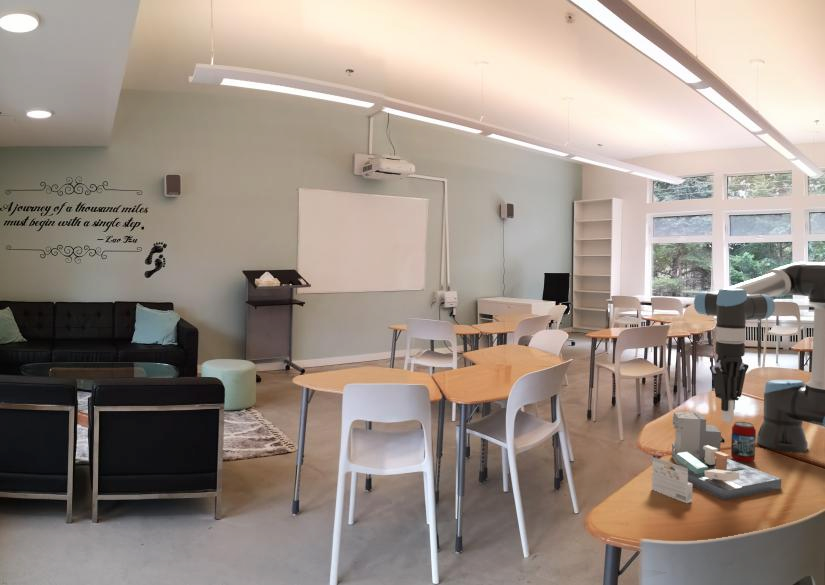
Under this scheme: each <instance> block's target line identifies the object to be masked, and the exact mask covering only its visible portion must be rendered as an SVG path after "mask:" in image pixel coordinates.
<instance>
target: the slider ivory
mask: <svg viewBox="0 0 825 585" xmlns="http://www.w3.org/2000/svg"><path fill="white" fill-rule="evenodd" d="M703 449H704V450H705V459H704V460H705V463H707V464H709V465H713V464H715V459H716V456H714V452H718V449H717V448H714V447H712V446H709V445H706V446H703Z"/></svg>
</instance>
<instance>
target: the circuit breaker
mask: <svg viewBox="0 0 825 585" xmlns="http://www.w3.org/2000/svg"><path fill="white" fill-rule="evenodd" d="M672 425H673V429H674V430H675V431H674V432H675V434H674V442H673V441H672V442H671V457H672V459H673V460H674V461H675V463H676V465H678V464H682V463H681V462H680V461H678V460H677V459H676V455H677V453H682V452H688V453H690V454H691V455H692V456H694V457H695V458H697V459H698V460H699V461H705V450H704V449H703V446H706V445H709V446H712V447H714V448H717V449H718V452H721V444H725V442H726V441H725V440H726V439H725V438H723V436H722V431H720V430H719V429H718V428H717V427H716V426H715V425H713V424H707V419H706V418H705V417H704V416H703V415H702V414H701V413H699V412H686V411H685V412H684V411H683V412H682V411H673V416H672Z"/></svg>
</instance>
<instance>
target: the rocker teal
mask: <svg viewBox="0 0 825 585" xmlns="http://www.w3.org/2000/svg"><path fill="white" fill-rule="evenodd" d="M676 459H677V460H678V461H680V462H681V463H682V464H684V465H685V466H686V467H688V468H689V469H690V470H692V471H693V472H694V473H695V474H699V473H704V471H707V469H708V467H707V466H706V465H705V464H703V463H702V462H701V461H699V460H698V459H697V458H695V457H694V456H692V455H691V454H690V453H688V452H682V453H677V455H676Z"/></svg>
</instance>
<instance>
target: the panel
mask: <svg viewBox="0 0 825 585" xmlns="http://www.w3.org/2000/svg"><path fill="white" fill-rule="evenodd" d="M701 462H702V463H703V464H705V465H706V466H707V467H708V469H707V470H712V469H716V458H715V464H713V465H709V464H707V463H705V461H701ZM677 465H679V466H682V467H685V468H688V467H686V466H685V465H684V464H677ZM669 469H671V470H674V471H675V469H674V468H673V467H672V466H671V465H670V467H669ZM727 471H732V472H739V478H740V479H738V480H732V481H725V480H719V479H712V478H706V477H705V473H699V474H695V473H694V472H693V471H692V470H690V469H689V468H688V482H689V483H692V484H693V486H694V488H696V489H698V490H700V489H701V491H702V490H704V491H706V492H708V493H707V494H709V493H710V494H709V495H711V494H712V495H711V496H713V495H714V496H713V497H715V498H718V499H720V500H722V501H728V500H733V499H738V498H743V497H749V496H752V495H758V494H763V493H768V491H769V492H773V490H774V491H778V490H782V478H780V477H778V476H775V475H773V474H770V473H767V472H764V471H762V470H759V469H757V468H754V467H751V466H749V465H746V464H743V463H742V462H741V463H740V462H739V461H736V460H732V459H727ZM704 491H703V492H704ZM706 492H705V493H706Z"/></svg>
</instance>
